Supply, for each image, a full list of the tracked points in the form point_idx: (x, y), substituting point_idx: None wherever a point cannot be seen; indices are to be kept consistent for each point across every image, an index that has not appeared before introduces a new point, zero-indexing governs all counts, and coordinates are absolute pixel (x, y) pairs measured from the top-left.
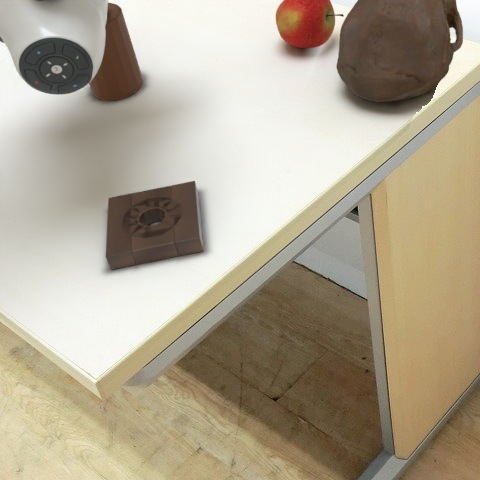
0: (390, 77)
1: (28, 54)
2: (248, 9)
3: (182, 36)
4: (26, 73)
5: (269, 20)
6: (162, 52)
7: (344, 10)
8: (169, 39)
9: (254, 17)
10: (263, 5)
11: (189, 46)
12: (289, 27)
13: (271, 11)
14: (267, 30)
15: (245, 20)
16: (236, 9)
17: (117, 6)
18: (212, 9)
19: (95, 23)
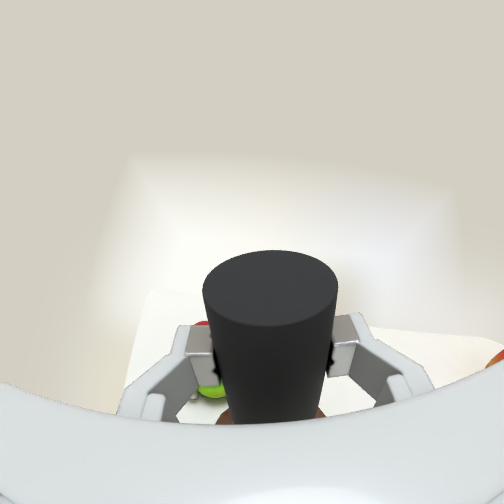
0: None
1: None
2: (411, 337)
3: (350, 379)
4: None
5: (441, 357)
6: (330, 410)
7: (496, 344)
8: (334, 383)
9: (423, 351)
10: (423, 332)
11: (365, 401)
12: None
13: (436, 342)
14: (447, 375)
15: (416, 356)
16: (398, 336)
17: (321, 415)
18: (371, 332)
19: None
